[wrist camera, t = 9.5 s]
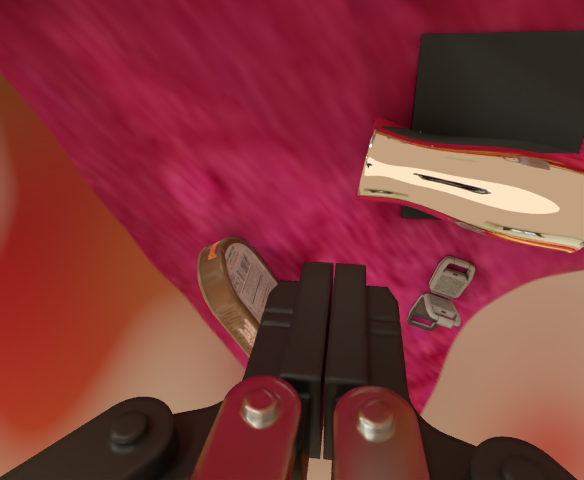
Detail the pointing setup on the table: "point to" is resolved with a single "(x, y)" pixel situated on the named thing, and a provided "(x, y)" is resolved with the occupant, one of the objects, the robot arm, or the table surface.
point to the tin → (235, 287)
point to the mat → (501, 88)
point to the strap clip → (444, 285)
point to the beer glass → (480, 184)
